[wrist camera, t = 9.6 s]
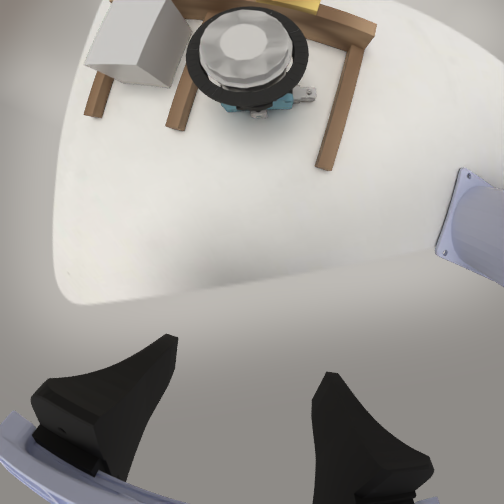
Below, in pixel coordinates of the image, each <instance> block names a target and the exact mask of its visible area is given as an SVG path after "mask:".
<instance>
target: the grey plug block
mask: <svg viewBox="0 0 504 504" xmlns="http://www.w3.org/2000/svg"><path fill="white" fill-rule="evenodd" d="M191 33H192V30H191V28H190V27H189V25H188V24H187V22H186V21H185V19H184V18H183V16H182V15H181V13H180V12H179V11H178V9H177V8H176V6H175V5H174V3H173V2H172V1H171V0H113V2H112V4H111V6H110V7H109V9H108V11H107V13H106V15H105V17H104V19H103V21H102V23H101V25H100V27H99V29H98V32H97V34H96V36H95V38H94V40H93V43H92V45H91V47H90V50H89V52H88V55H87V57H86V60H85V62H84V65H85V66H88V67H90V68H92V69H94V70H97V71H99V72H101V73H103V74H105V75H108V76H110V77H112V78H114V79H116V80H118V81H120V82H122V83H125V84H137V85H147V86H156V87H164V88H170V87H171V84H172V82H173V79H174V76H175V73H176V71H177V68H178V65H179V63H180V60H181V58H182V55H183V53H184V50H185V48H186V45H187V43H188V40H189V38H190V36H191Z"/></svg>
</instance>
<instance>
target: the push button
mask: <svg viewBox="0 0 504 504" xmlns="http://www.w3.org/2000/svg"><path fill="white" fill-rule="evenodd" d="M308 56H309V53H308V45H307V41H306V39H305V36H304V34H303V33H302V31H301V30H300V28H299V27H298V26H297V25H296V24H295V23H294V22H293V21H292V20H291V19H289V18H288V17H286V16H285V15H283V14H281V13H279V12H277V11H274V10H271V9H268V8H263V7H255V6H246V7H237V8H232V9H229V10H226V11H223V12H221V13H218V14H216V15H214V16H213V17H211V18H210V19H208V20H207V21H206V22H204V23H203V24H202V25H201V26H200V27H199V28H198V29H197V30H196V32H195V33H194V35H193V36H192V38H191V40H190V42H189V45H188V48H187V52H186V66H187V70H188V73H189V75H190V77H191V79H192V81H193V82H194V84H195V85H196V86H197V87H198V88H199V89H200V90H201V91H202V92H203V93H204V94H205V95H207V96H208V97H210V98H211V99H213V100H215V101H217V102H220V103H221V105H222V106H223V107H224V109H225V110H226V111H227V112H236V111H248V110H250V111H251V116H252V118H266V117H267V110H271V109H291V108H292V105H293V103H300V101H314V100H315V98H316V97H317V96H316V88H315V87H300V85H297V84H298V83H299V81H300V80H301V78H302V76H303V75H304V72H305V70H306V67H307V63H308ZM291 57H292V58H293V64H292V66H291V68H290V70H289V71H288V72H286V67H287V65H288V64H289V62H290V60H291ZM207 74H208V75H209V76H210V77H211V78H213V79H215V80H216V81H218V82H219V83H220V84H221V87H219V86H217V85H215V84H214V83H212V82H211V81H210V80H209V78H208V75H207ZM307 90H310V91H307ZM307 93H308V94H310V95H307Z"/></svg>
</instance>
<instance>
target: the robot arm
mask: <svg viewBox="0 0 504 504" xmlns="http://www.w3.org/2000/svg"><path fill="white" fill-rule="evenodd" d="M467 174H468V175H469V178H467ZM444 250H445V254H443V252H444ZM435 254H436V255H438V256H439V257H441V258H444V259H446V260H448V261H451V262H453V263H455V264H457V265H460V266H462V267H464V268H466V269H468V270H471V271H473V272H475V273H477V274H480V275H482V276H484V277H486V278H488V279H490V280H492V281H495V282H496V283H498V284H500V285H501V286H503V287H504V190H503V189H497V188H494V187H493V186H491V185H490V184H489V183H487V182H486V181H484V180H483V179H482V178H480V177H479V176H477V175H476V174H474V173H473V172H471V171H470V170H468V169H467V168H461V169H460V171H459V174H458V178H457V182H456V186H455V190H454V193H453V197H452V200H451V204H450V207H449V210H448V214H447V217H446V220H445V223H444V226H443V229H442V232H441V234H440V237H439V240H438V243H437V245H436V248H435ZM177 344H178V337H175V336H172V335H169V334H165V335H163V336H162V337H160V338H159V339H158V340H156V341H155V342H153V343H152V344H150V345H149V346H147V347H146V348H144V349H143V350H141V351H140V352H138V353H136V354H134V355H133V356H131V357H129V358H127V359H125V360H123V361H121V362H119V363H117V364H115V365H112V366H110V367H107V368H105V369H102V370H98V371H95V372H91V373H88V374H83V375H78V376H72V377H64V378H49V379H48V380H46V381H45V382H44V383H43V384H42V385H41V386H40V388H39V389H38V390H37V391H36V392H35V393H34V394H33V396H32V397H31V404H32V407H33V410H34V412H35V414H36V416H37V418H38V420H39V422H40V425H39V426H38V428H37V429H36V427H35V426H34V425H33V424H32V423H31V422H29V421H28V420H27V419H25V418H24V417H23V416H21V415H20V414H19V413H18V412H16V411H14V410H13V411H12V412H11V413H10V414H9V415H8V416H7V417H6V419H5V420H4V421H3V422H2V423H1V424H0V462H1V463H2V465H3V466H4V467H5V468H6V469H7V470H8V471H9V472H10V473H11V474H13V475H14V476H15V477H16V478H18V479H19V480H20V481H21V482H22V483H24V484H25V485H26V486H28V487H29V488H30V489H31V490H33V491H34V492H36V493H37V494H38V495H40V496H41V497H42V498H44V499H45V500H47V501H48V502H50V503H51V504H188V503H185V502H181V501H178V500H174V499H171V498H168V497H164V496H161V495H158V494H155V493H152V492H150V491H147V490H144V489H141V488H139V487H136V486H134V485H131V484H129V483H126V480H127V477H128V473H129V470H130V467H131V464H132V461H133V459H134V456H135V453H136V450H137V448H138V445H139V442H140V440H141V437H142V435H143V432H144V430H145V427H146V425H147V423H148V421H149V419H150V417H151V415H152V413H153V411H154V410H155V408H156V406H157V404H158V403H159V401H160V399H161V397H162V395H163V394H164V392H165V390H166V389H167V387H168V385H169V382H170V379H171V377H172V375H173V372H174V370H175V362H176V353H177ZM311 416H312V426H313V436H314V443H315V453H316V472H315V488H314V496H313V504H440V503H439V500H438V497H432V498H428V499H424V500H421V501H418V502H416V503H414V501H413V498H415V497H416V493H415V490H416V489H418V488H419V487H420V486H421V485H423V484H424V483H425V482H426V481H427V480H428V479H429V478H431V476H432V475H433V473H434V468H433V465H432V463H431V460H430V457H429V456H427V455H425V454H423V453H421V452H419V451H417V450H414V449H413V448H411V447H409V446H408V445H406V444H405V443H403V442H401V441H400V440H399V439H397V438H396V437H394V436H393V435H392V434H391V433H389V432H388V431H387V430H386V429H384V428H383V427H382V426H381V425H380V424H379V423H378V422H377V421H376V420H375V419H374V418H373V417H372V416H371V415H370V414H369V413H368V412H367V411H366V409H365V408H364V407H363V406H362V404H361V403H360V402H359V401H358V399H357V398H356V397H355V396H354V394H353V393H352V391H351V390H350V389H349V387H348V386H347V385H346V383H345V382H344V381H343V379H342V378H341V376H340V375H339V374H338V373H332V372H326V374H325V376H324V378H323V380H322V382H321V384H320V385H319V387H318V389H317V391H316V393H315V395H314V397H313V399H312V415H311Z"/></svg>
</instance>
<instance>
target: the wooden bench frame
mask: <svg viewBox="0 0 504 504" xmlns="http://www.w3.org/2000/svg"><path fill="white" fill-rule="evenodd" d="M171 1H172V2H173V3H174V5H175V6H176V8H177V9H178V11H179V12H180V13H181V15H182V16H183V18H184V19H199V20H204V21H203V23H204V22H206V21H207V20H208V19H210V18H211V17H213V16H214V15H216V14H218V13H221V12H223V11H226V10H229V9H232V8H237V7H246V6H255V7H263V8H268V9H271V10H274V11H277V12H279V13H281V14H283V15H285V16H286V17H288V18H289V19H291V20H292V21H293V22H294V23H295V24H296V25H297V26H298V27H299V28H300V30H301V31H302V33H303V34H304V36H305V38H306V39H309V40H313V41H316V42H319V43H323V44H326V45H329V46H332V47H335V48H338V49H340V50H343V51H346V52H347V54H346V58H345V62H344V66H343V70H342V73H341V77H340V81H339V85H338V88H337V92H336V95H335V99H334V103H333V106H332V110H331V113H330V117H329V120H328V124H327V127H326V130H325V134H324V137H323V141H322V144H321V147H320V151H319V154H318V157H317V161H316V164H315V167H318V168H321V169H323V170H326V171H332V168H333V165H334V161H335V158H336V155H337V151H338V148H339V144H340V141H341V138H342V134H343V131H344V127H345V124H346V120H347V116H348V113H349V109H350V105H351V102H352V98H353V94H354V90H355V86H356V82H357V78H358V74H359V70H360V66H361V62H362V58H363V54H364V50H365V48H366V47H367V46H368V44H369V43H370V42H371V40H372V39H373V38H374V36H375V32H376V27H377V24H375V23H373V22H370V21H368V20H365V19H363V18H360V17H358V16H355V15H352V14H350V13H347V12H344V11H341V10H338V9H335V8H332V7H329V6H325V5H322V4H320V1H321V0H171ZM110 2H111V3H112V2H113V0H110ZM203 23H202V24H203ZM113 80H114V78H112V77H110V76H108V75H105V74H103V73H101V72H99V71H97V74H96V76H95V79H94V82H93V85H92V88H91V91H90V95H89V98H88V101H87V104H86V108H85V111H84V115H86V116H91V117H98V118H102V115H103V112H104V108H105V105H106V102H107V98H108V95H109V92H110V89H111V86H112V83H113ZM197 89H198V87H197V86H196V85H195V84H194V82H193V81H192V79H191V77H190V75H189V73H188V70H187V66H186V65H185V67H184V70H183V73H182V76H181V78H180V81H179V84H178V87H177V90H176V93H175V96H174V99H173V102H172V105H171V108H170V112H169V115H168V118H167V122H166V125H165V126H166V127H169V128H172V129H176V130H181V131H184V130H185V127H186V123H187V120H188V117H189V114H190V110H191V107H192V104H193V101H194V98H195V95H196V92H197Z"/></svg>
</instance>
